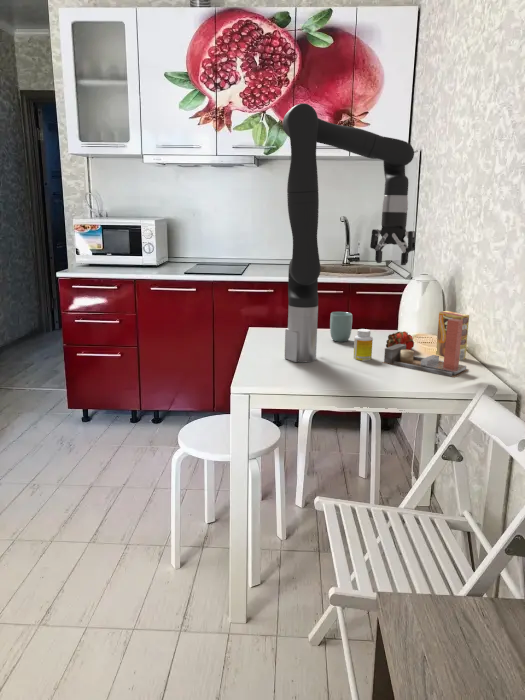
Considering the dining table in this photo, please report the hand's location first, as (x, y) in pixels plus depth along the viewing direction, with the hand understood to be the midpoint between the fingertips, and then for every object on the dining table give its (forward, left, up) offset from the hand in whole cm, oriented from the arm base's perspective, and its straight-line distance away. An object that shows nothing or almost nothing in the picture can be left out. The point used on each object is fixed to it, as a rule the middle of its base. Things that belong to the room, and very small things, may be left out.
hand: (391, 263), depth 183 cm
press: (-1, -18, -30) cm, 35 cm away
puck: (-3, -12, -29) cm, 31 cm away
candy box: (+15, -14, -30) cm, 37 cm away
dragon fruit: (+7, 0, -30) cm, 31 cm away
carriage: (0, -23, -29) cm, 37 cm away
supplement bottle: (-11, -1, -30) cm, 32 cm away
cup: (+3, +25, -30) cm, 39 cm away
